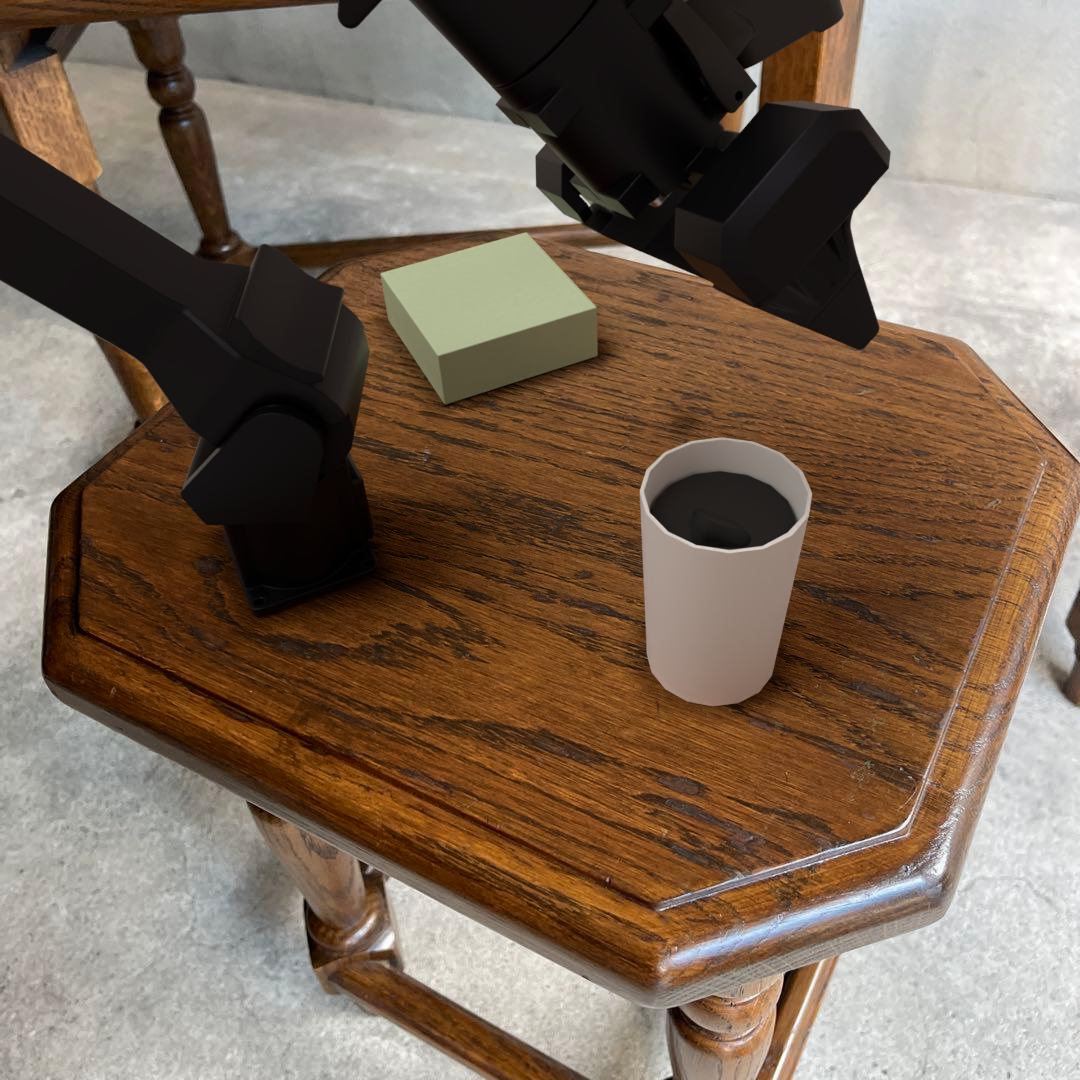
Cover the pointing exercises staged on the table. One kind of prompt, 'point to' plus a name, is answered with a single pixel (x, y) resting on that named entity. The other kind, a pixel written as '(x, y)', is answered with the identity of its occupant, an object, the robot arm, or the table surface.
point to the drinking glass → (719, 565)
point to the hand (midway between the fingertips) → (804, 310)
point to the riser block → (489, 316)
